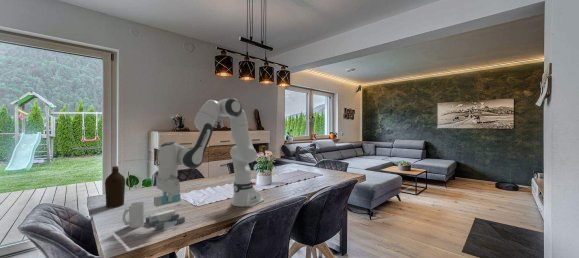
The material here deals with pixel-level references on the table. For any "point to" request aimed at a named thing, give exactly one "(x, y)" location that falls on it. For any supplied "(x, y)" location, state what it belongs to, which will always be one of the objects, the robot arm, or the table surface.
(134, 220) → the mug
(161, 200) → the teal rectangular block
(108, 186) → the olive oil
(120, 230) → the table surface
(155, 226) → the cord comb
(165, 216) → the grey elongated block
